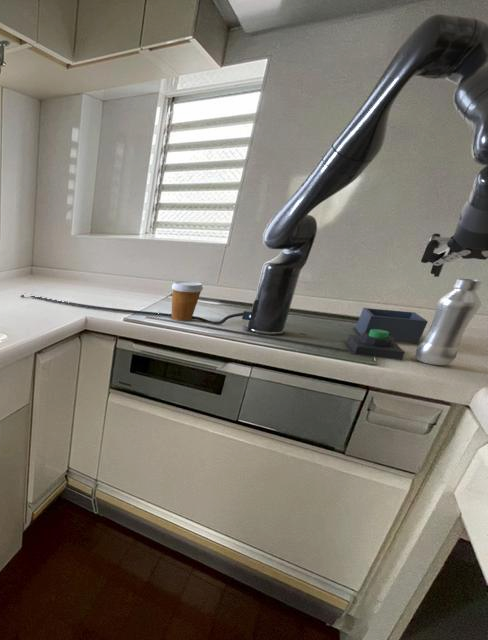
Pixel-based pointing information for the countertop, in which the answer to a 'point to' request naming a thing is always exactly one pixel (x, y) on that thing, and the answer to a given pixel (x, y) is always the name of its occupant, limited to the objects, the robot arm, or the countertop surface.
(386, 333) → the button
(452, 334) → the silver metal bottle
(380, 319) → the basket
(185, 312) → the disposable coffee cup
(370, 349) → the control block
